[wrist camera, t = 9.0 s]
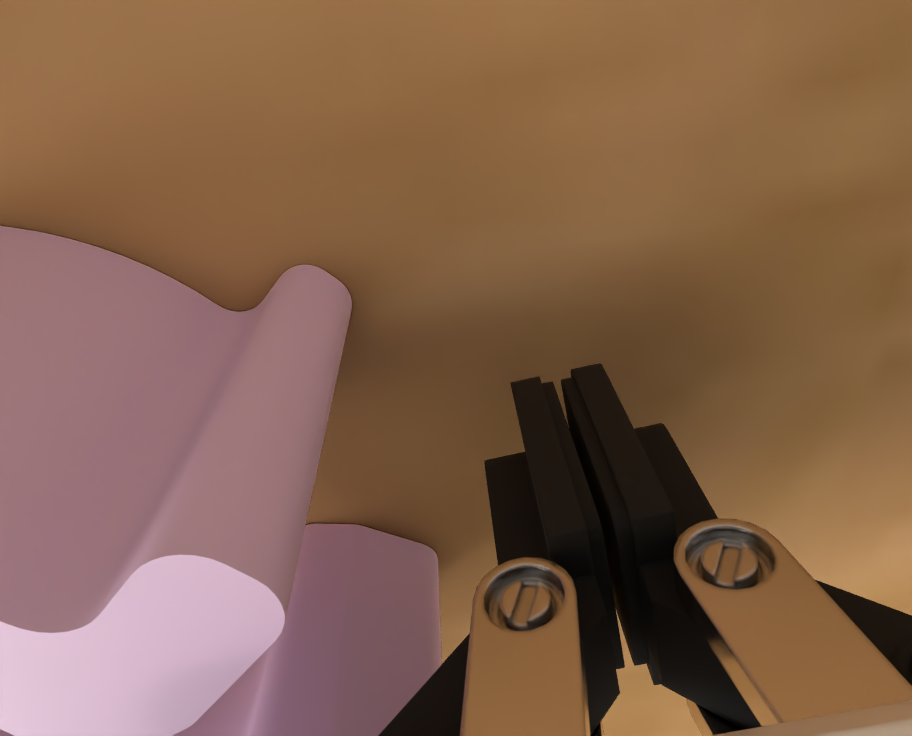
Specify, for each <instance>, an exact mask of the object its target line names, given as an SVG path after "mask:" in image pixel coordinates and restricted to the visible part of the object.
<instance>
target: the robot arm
mask: <svg viewBox="0 0 912 736" xmlns="http://www.w3.org/2000/svg"><path fill="white" fill-rule="evenodd" d="M561 385H562V391H563V397H564V403H565V408H566V414H567V420H568V424H567V421H566V419H565V416H564V413H563V410H562V407H561V404H560V401H559V398H558V395H557V392H556V389H555V387H554V384H553V382H548V383H543V384H542V383H541V380H540V377H534V378H530V379H525V380H520V381H516V382H511V388H512V393H513V397H514V402H515V406H516V411H517V415H518V420H519V425H520V429H521V434H522V438H523V443H524V447H525V452H522V453H517V454H513V455H508V456H503V457H498V458H494V459H489V460H485V462H484V463H485V471H486V479H487V486H488V494H489V501H490V508H491V516H492V523H493V531H494V538H495V545H496V553H497V560H498V566H496V567H495V568H494V569H492V570H491V571H490V572H489V573H488V574H486V575H485V576H484V578H483V579H482V580H481V582H480V583H479V585H478V586H477V588H476V592H475V595H474V599H473V606H472V616H471V626H470V634H469V635H468V636H467V637H466V638H465V639H464V640H463V641H462V643H461V644H460V645H459V646H458V647H457V648H456V649H455V650H454V651H453V653H452V654H451V655H450V656H449V657H448V658H447V659H446V660H445V662H444V663H443V664H442V665H441V666H440V667H439V668H438V669H437V670H436V672H435V673H434V674H433V675H432V676H431V677H430V678H429V679H428V681H427V682H426V683H425V684H424V685H423V686H422V687H421V688H420V689H419V691H418V692H417V693H416V694H415V695H414V696H413V697H412V698H411V700H410V701H409V702H408V703H407V704H406V705H405V706H404V707H403V708H402V710H401V711H400V712H399V713H398V714H397V715H396V716H395V717H394V719H393V720H392V721H391V722H390V723H389V724H388V725H387V726H386V727H385V729H384V730H383V731H382V732H381V733H380V734H379V735H378V736H604V730H603V725H602V719H603V717H604V716H605V714H606V713H607V711H608V710H609V708H610V707H611V705H612V704H613V702H614V701H615V699H616V698H617V696H618V695H619V693H620V691H619V685H618V679H617V673H616V669H620V668H624V667H625V665H624V659H623V652H622V646H621V640H620V634H619V627H618V621H617V615H616V611H617V614H618V617H619V620H620V623H621V626H622V629H623V633H624V636H625V639H626V642H627V645H628V648H629V651H630V654H631V658H632V660H633V663H634V665H635V666H636V665H641V664H646V663H647V666H648V669H649V672H650V675H651V678H652V680H653V683H654V685H658V684H662V685H663V686H665V687H667V688H668V689H670V690H672V691H674V692H676V693H678V694H679V695H681V696H683V697H685V698H687V705H688V707H689V710H690V713H691V715H692V718H693V719H694V721H695V723H696V725H697V727H698V728H699V730H700V732H701V734H702V736H912V616H911V615H909V614H906V613H903V612H900V611H898V610H895V609H892V608H890V607H887V606H884V605H882V604H879V603H876V602H874V601H871V600H868V599H865V598H863V597H860V596H857V595H855V594H852V593H849V592H847V591H844V590H841V589H838V588H836V587H833V586H830V585H828V584H825V583H822V582H820V581H817V580H814V579H813V577H812V576H811V575H810V574H809V573H808V572H807V571H806V570H805V569H804V568H803V567H802V565H801V564H800V563H799V562H798V561H797V560H796V559H795V558H794V557H793V556H792V555H791V553H790V552H789V551H788V550H787V549H786V548H785V547H784V546H783V545H782V544H781V542H780V541H779V540H778V539H776V538H775V537H774V536H773V535H772V534H770V533H769V532H768V531H767V530H765V529H763V528H761V527H759V526H756V525H754V524H752V523H749V522H745V521H741V520H736V519H718V517H717V516H716V514H715V512H714V510H713V509H712V507H711V505H710V503H709V502H708V500H707V498H706V496H705V495H704V493H703V491H702V489H701V488H700V486H699V484H698V482H697V481H696V479H695V477H694V475H693V474H692V472H691V470H690V468H689V467H688V465H687V463H686V461H685V460H684V458H683V456H682V454H681V453H680V451H679V449H678V447H677V446H676V444H675V442H674V440H673V439H672V437H671V435H670V433H669V432H668V430H667V428H666V427H665V426H664V424H662V423H659V424H654V425H650V426H645V427H640V428H635V429H634V428H633V426H632V424H631V422H630V420H629V418H628V416H627V414H626V412H625V410H624V408H623V406H622V404H621V402H620V400H619V398H618V396H617V394H616V392H615V390H614V388H613V386H612V384H611V382H610V380H609V378H608V376H607V374H606V372H605V370H604V368H603V366H602V364H601V363H598V364H593V365H589V366H584V367H580V368H575V369H571V378H566V379H562V380H561ZM568 425H569V427H568ZM615 607H616V608H615Z"/></svg>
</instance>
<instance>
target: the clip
mask: <svg viewBox="0 0 912 736" xmlns="http://www.w3.org/2000/svg"><path fill="white" fill-rule="evenodd" d="M351 310H352V300H351V296H350V294H349V291H348V290H347V288H346V287H345V286H344V285H343V284H342V283H341V282H340V281H339V280H338V279H336V278H335V277H333V276H332V275H330V274H329V273H328V272H326V271H325V270H323V269H321V268H319V267H316V266H313V265H297V266H294V267H291V268H290V269H288V270H286V271H285V272H284V273H283V274H282V275H281V276H280V278H279V279H278V280H277V282H276V283H275V284H274V286H273V287H272V289H271V290H270V291H269V293H268V294H267V295H266V297H265V298H264V299H263V301H262V302H261V303H260V304H259V305H258V306H256V307H255V308H253V309H251V310H247V311H241V312H237V311H230V310H227V309H224V308H222V307H220V306H219V305H217V304H215V303H214V302H212V301H211V300H209V299H207V298H206V297H204V296H203V295H201V294H199V293H198V292H196V291H195V290H193V289H191V288H189V287H187V286H186V285H184V284H182V283H180V282H178V281H177V280H175V279H173V278H171V277H169V276H167V275H165V274H163V273H161V272H159V271H157V270H155V269H152V268H150V267H148V266H146V265H144V264H141V263H139V262H136V261H134V260H132V259H129V258H127V257H124V256H122V255H119V254H116V253H113V252H111V251H108V250H105V249H102V248H99V247H96V246H93V245H90V244H86V243H83V242H79V241H76V240H72V239H69V238H65V237H60V236H56V235H52V234H47V233H43V232H38V231H32V230H26V229H20V228H14V227H5V226H0V736H378V735H379V734H380V733H381V732H382V731H383V730H384V729H385V727H386V726H387V725H388V724H389V723H390V722H391V721H392V720H393V719H394V717H395V716H396V715H397V714H398V713H399V712H400V711H401V710H402V708H403V707H404V706H405V705H406V704H407V703H408V702H409V701H410V700H411V698H412V697H413V696H414V695H415V694H416V693H417V692H418V691H419V689H420V688H421V687H422V686H423V685H424V684H425V683H426V682H427V681H428V679H429V678H430V677H431V676H432V675H433V674H434V673H435V672H436V670H437V669H438V668H439V667H440V666H441V665H442V652H441V626H440V599H439V572H438V557H437V555H436V553H435V551H434V550H433V549H432V548H430V547H429V546H427V545H424V544H421V543H418V542H415V541H411V540H408V539H405V538H401V537H398V536H395V535H391V534H388V533H385V532H382V531H378V530H375V529H372V528H368V527H365V526H361V525H356V524H320V523H317V524H309V525H306V521H307V516H308V512H309V507H310V502H311V498H312V493H313V488H314V484H315V479H316V474H317V469H318V465H319V460H320V455H321V451H322V446H323V441H324V437H325V432H326V427H327V423H328V418H329V413H330V409H331V404H332V399H333V395H334V390H335V385H336V381H337V376H338V371H339V367H340V362H341V357H342V352H343V348H344V343H345V338H346V334H347V329H348V324H349V320H350V315H351Z"/></svg>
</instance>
